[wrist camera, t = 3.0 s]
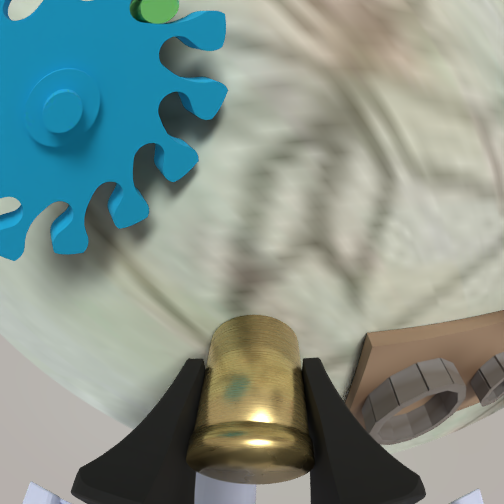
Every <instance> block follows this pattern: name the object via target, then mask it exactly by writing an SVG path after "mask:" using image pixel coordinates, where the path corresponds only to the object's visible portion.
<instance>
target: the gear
mask: <svg viewBox="0 0 504 504" xmlns="http://www.w3.org/2000/svg"><path fill="white" fill-rule="evenodd" d="M11 1H12V0H0V198H3V197H14V198H16V199H17V200H19V201H20V203H21V206H20V207H19V208H18V209H17V210H15V211H13V212H9V213H6V214H3V215H0V256H2V257H4V258H7V259H10V260H13V261H15V260H17V259H18V258H19V257H20V256H21V255H22V254H23V252H24V248H25V238H26V233H27V231H28V229H29V227H30V225H31V223H32V222H33V220H34V219H35V218H36V217H37V216H38V215H39V214H40V213H41V212H42V211H43V210H44V209H45V208H46V207H48V206H49V205H50V204H52V203H54V202H57V201H63V202H66V203H68V204H69V207H68V208H67V210H66V211H65V212H63V213H62V214H61V215H60V216H59V217H57V218H56V219H55V220H54V222H53V223H52V225H51V229H50V233H51V239H52V245H53V250H54V252H55V253H58V254H77V253H84V251H85V250H86V248H87V246H88V242H89V241H88V236H87V233H86V229H85V226H84V217H85V212H86V209H87V206H88V204H89V201H90V199H91V197H92V195H93V193H94V192H95V190H96V189H97V188H98V187H99V186H100V185H101V184H103V183H105V182H116V183H117V184H116V187H115V189H114V191H113V192H112V194H111V196H110V198H109V200H108V210H109V212H110V215H111V217H112V219H113V221H114V224H115V225H116V227H117V228H119V229H121V228H126V227H129V226H132V225H134V224H136V223H138V222H140V221H142V220H143V219H145V218H147V217H148V214H149V206H148V204H147V203H146V201H145V200H144V198H143V196H142V195H141V193H140V192H139V190H138V189H137V188H135V186H134V182H133V160H134V156H135V154H136V152H137V151H138V149H140V148H141V147H142V146H144V145H145V144H148V143H155V154H154V162H155V165H156V167H157V168H158V169H159V171H160V172H161V173H162V174H163V175H164V177H165V178H166V179H167V180H169V181H171V182H176V181H177V180H179V179H180V178H182V177H183V176H184V175H186V174H187V173H188V172H189V171H190V170H191V169H192V168H193V167H194V165H195V164H196V163H197V162H198V161H199V159H198V155H197V153H196V151H195V150H194V149H193V148H191V147H190V146H189V145H188V144H187V143H186V142H184V141H183V140H181V139H179V138H175V137H172V136H170V135H168V134H167V132H166V130H165V128H164V126H163V124H162V122H161V119H160V117H159V114H158V108H159V104H160V102H161V101H162V99H163V98H164V97H165V96H166V95H168V94H170V93H172V92H178V94H179V96H180V99H181V102H182V104H183V106H184V108H185V109H186V110H188V111H190V112H191V113H193V114H194V115H196V116H197V117H199V118H201V119H204V120H209V119H212V118H213V117H214V116H215V115H216V113H217V112H218V110H219V109H220V107H221V105H222V103H223V101H224V99H225V96H226V94H227V92H228V89H227V88H226V86H225V85H224V84H222V83H220V82H217V81H215V80H212V79H210V78H207V77H195V78H185V77H179V76H177V75H175V74H174V73H172V72H171V71H170V70H168V69H167V68H166V67H164V66H163V65H162V64H161V62H160V59H159V51H160V48H161V46H162V44H163V43H164V42H165V41H166V40H168V39H169V38H171V37H174V36H175V37H176V38H178V39H179V40H180V41H182V42H183V43H184V44H185V45H187V46H188V47H191V48H196V49H201V50H206V51H214V50H217V49H219V48H221V47H222V46H223V43H224V40H225V34H226V20H225V14H224V13H222V12H219V11H197V12H193V13H191V14H189V15H187V16H186V17H184V18H181V19H179V20H177V21H173V22H169V23H164V22H167V21H169V20H170V19H172V18H173V17H174V16H175V14H176V13H177V11H178V8H179V1H178V0H93V1H82V0H44V1H43V2H42V3H41V4H40V6H39V7H38V8H37V9H36V10H35V11H34V12H33V13H32V14H31V15H30V16H28V17H26V18H25V19H22V20H18V21H12V20H11V19H10V18H9V16H8V7H9V4H10V2H11ZM160 23H164V24H160Z"/></svg>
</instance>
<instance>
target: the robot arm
mask: <svg viewBox="0 0 504 504" xmlns="http://www.w3.org/2000/svg"><path fill="white" fill-rule="evenodd" d="M205 371H206V370H205V365H204V361H203V359H188V360H187V361H186V363H185V364H184V366H183V368H182V369H181V371H180V372H179V374H178V376H177V377H176V379H175V380H174V382H173V383H172V385H171V386H170V387H169V389H168V390H167V392H166V393H165V394H164V396H163V397H162V399H161V400H160V401H159V402H158V404H157V405H156V406H155V407H154V408H153V410H152V411H151V412H150V413H149V414H148V416H147V417H146V418H145V419H144V420H143V421H142V422H141V423H140V424H139V425H138V426H137V427H136V428H135V429H134V430H133V431H132V432H131V433H130V434H129V435H127V436H126V437H125V438H124V439H123V440H122V441H121V442H120V443H118V444H117V445H115V446H114V447H113V448H111V449H110V450H109V451H107V452H106V453H104V454H103V455H102V456H100V457H98V458H97V459H95V460H94V461H92V462H90V463H88V464H86V465H85V466H83V467H81V468H80V469H79V471H78V473H77V475H76V478H75V481H74V483H73V487H72V490H71V493H72V495H73V496H75V497H76V498H78V499H80V500H82V501H83V502H85V503H87V504H256V484H238V483H231V482H225V481H220V480H216V479H213V478H210V477H207V476H204V475H202V474H200V473H198V472H196V471H195V470H193V469H192V468H191V467H190V466H189V465H188V464H187V462H186V456H187V450H188V445H189V440H190V436H191V435H192V434H193V433H194V429H195V423H196V418H197V413H198V407H199V402H200V397H201V392H202V386H203V381H204V376H205ZM302 377H303V385H304V394H305V402H306V411H307V420H308V430H309V437H310V438H311V439H312V442H313V449H314V459H315V465H314V467H313V469H312V470H311V471H310V486H311V504H415V503H417V502H418V501H420V500H422V499H423V498H424V497H425V495H426V492H425V488H424V485H423V483H422V481H421V479H420V476H419V475H417V474H416V473H415V472H413V471H411V470H410V469H409V468H407V467H406V466H404V465H403V464H402V463H400V462H399V461H398V460H396V459H395V458H394V457H393V456H392V455H390V454H389V453H388V452H387V451H386V450H385V449H384V448H383V447H382V446H381V445H380V444H378V443H377V442H376V441H375V440H374V439H373V438H372V437H371V435H370V434H369V433H368V432H367V431H366V430H365V429H364V428H363V427H362V425H361V424H360V423H359V422H358V421H357V419H356V418H355V417H354V415H353V414H352V413H351V411H350V410H349V409H348V407H347V406H346V404H345V403H344V401H343V400H342V398H341V397H340V395H339V394H338V392H337V390H336V389H335V387H334V385H333V384H332V382H331V380H330V378H329V377H328V375H327V373H326V371H325V369H324V367H323V364H322V362H321V360H320V359H319V358H304V359H303V366H302ZM23 504H72V503H69V502H67V501H65V500H63V499H61V498H60V497H59V496H57V495H55V494H53V493H52V492H50V491H48V490H46V489H44V488H43V487H41V486H39V485H37V484H35V483H34V482H30V484H29V487H28V490H27V492H26V495H25V498H24V501H23ZM449 504H484V503H483V499H482V496H481V492H480V489H476V490H474V491H472V492H470V493H468V494H466V495H464V496H462V497H460V498H458V499H457V500H454V501H453V502H451V503H449Z"/></svg>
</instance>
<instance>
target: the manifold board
mask: <svg viewBox="0 0 504 504" xmlns="http://www.w3.org/2000/svg"><path fill="white" fill-rule="evenodd" d="M503 394H504V310H502V311H498V312H493V313H489V314H485V315H480V316H475V317H470V318H465V319H460V320H455V321H449V322H443V323H438V324H431V325H425V326H418V327H412V328H404V329H397V330H389V331H380V332H371V333H367V335H366V339H365V342H364V346H363V349H362V353H361V356H360V359H359V363H358V366H357V369H356V372H355V375H354V378H353V382H352V385H351V387H350V390H349V393H348V396H347V399H346V402H345V404H346V406H347V407H348V409H349V410H350V411H351V413H352V414H353V415H354V417H355V418H356V419H357V421H358V422H359V423H360V424H361V425H362V427H363V428H364V429H365V430H366V431H367V432H368V433H369V434H370V435H371V437H372V438H373V439H374V440H375V441H376V442H377V443H378V444H383V445H392V444H396V443H400V442H404V441H408V440H411V439H414V438H416V437H418V436H420V435H422V434H424V433H426V432H428V431H430V430H432V429H434V427H437V426H438V425H440V424H441V423H442V422H444V421H445V420H446V419H447V418H449V417H450V416H451V415H452V414H453V413H455V412H456V411H458V410H461V409H464V408H466V407H469V406H472V405H474V404H477V403H479V402H480V403H481V405H482V406H486V405H488V404H491V403H493V402H495V400H497V399H499V398H500V397H501V396H502V395H503Z"/></svg>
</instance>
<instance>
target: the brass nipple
mask: <svg viewBox="0 0 504 504" xmlns="http://www.w3.org/2000/svg"><path fill="white" fill-rule="evenodd" d="M186 462H187V464H188V465H189V466H190V467H191V468H192V469H193V470H195V471H196V472H198V473H200V474H202V475H204V476H207V477H210V478H213V479H216V480H220V481H225V482H231V483H238V484H271V483H279V482H284V481H288V480H292V479H295V478H298V477H300V476H302V475H305V474H307V473H308V472H309V471H311V470H312V469H313V467H314V465H315V459H314V449H313V442H312V439H311V438H310V437H309V430H308V420H307V411H306V402H305V394H304V385H303V377H302V369H301V361H300V353H299V346H298V340H297V337H296V335H295V333H294V332H293V330H292V329H291V328H290V327H289V326H287V325H286V324H285V323H283V322H281V321H279V320H277V319H274V318H272V317H268V316H262V315H246V316H240V317H236V318H233V319H231V320H229V321H227V322H225V323H224V324H222V325H221V326H220V327H219V328H218V329H217V330H216V331H215V333H214V335H213V337H212V341H211V346H210V351H209V356H208V361H207V366H206V371H205V376H204V381H203V386H202V392H201V397H200V402H199V407H198V413H197V418H196V423H195V429H194V433H193V434H192V435H191V436H190V440H189V445H188V450H187V456H186Z"/></svg>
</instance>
